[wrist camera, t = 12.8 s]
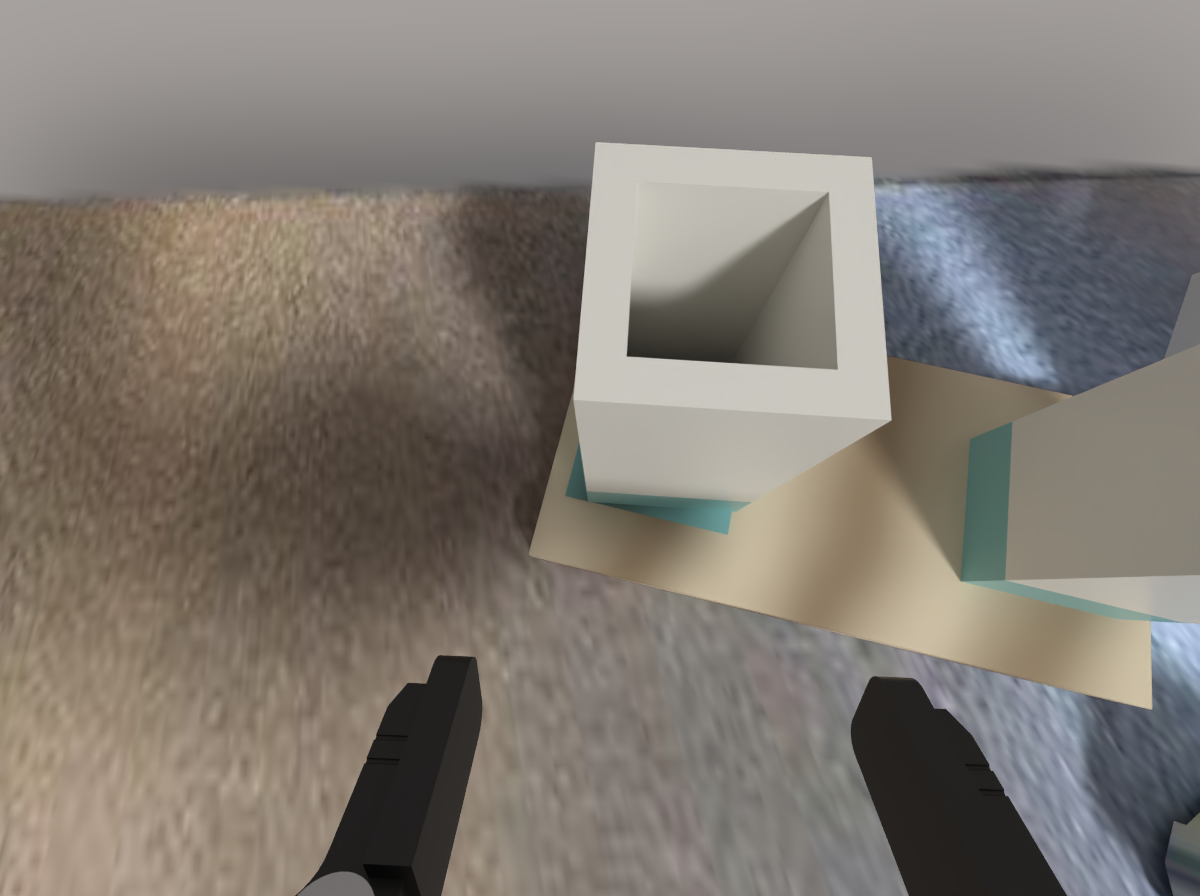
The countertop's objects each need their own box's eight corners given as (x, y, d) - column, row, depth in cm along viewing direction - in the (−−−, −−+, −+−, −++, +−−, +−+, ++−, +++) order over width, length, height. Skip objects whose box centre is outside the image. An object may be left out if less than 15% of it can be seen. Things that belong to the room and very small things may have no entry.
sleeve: (588, 501, 18) (573, 400, 8) (598, 365, 19) (595, 142, 10) (736, 511, 18) (891, 419, 8) (736, 374, 19) (871, 157, 10)
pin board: (533, 557, 19) (502, 541, 13) (599, 313, 22) (598, 205, 16) (1107, 700, 18) (1367, 755, 12) (1107, 423, 20) (1321, 353, 14)
